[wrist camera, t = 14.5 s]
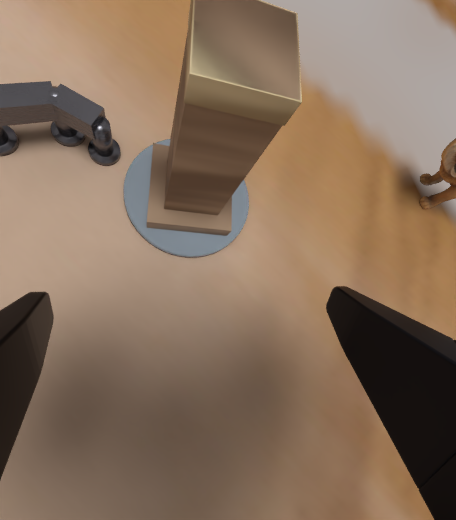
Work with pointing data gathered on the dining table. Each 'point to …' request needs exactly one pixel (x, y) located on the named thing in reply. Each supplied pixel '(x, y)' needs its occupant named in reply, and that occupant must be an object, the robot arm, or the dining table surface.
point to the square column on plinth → (224, 111)
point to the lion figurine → (442, 178)
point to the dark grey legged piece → (56, 118)
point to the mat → (170, 239)
